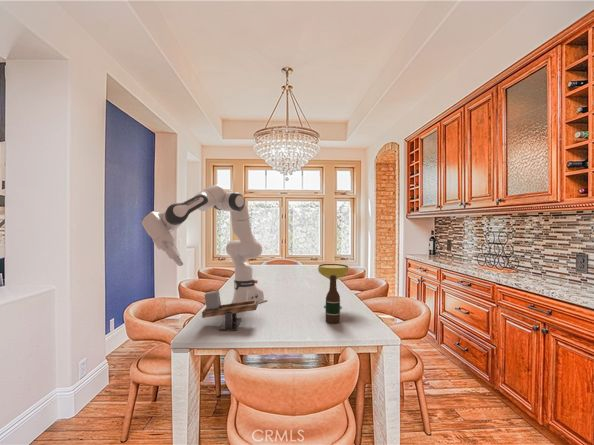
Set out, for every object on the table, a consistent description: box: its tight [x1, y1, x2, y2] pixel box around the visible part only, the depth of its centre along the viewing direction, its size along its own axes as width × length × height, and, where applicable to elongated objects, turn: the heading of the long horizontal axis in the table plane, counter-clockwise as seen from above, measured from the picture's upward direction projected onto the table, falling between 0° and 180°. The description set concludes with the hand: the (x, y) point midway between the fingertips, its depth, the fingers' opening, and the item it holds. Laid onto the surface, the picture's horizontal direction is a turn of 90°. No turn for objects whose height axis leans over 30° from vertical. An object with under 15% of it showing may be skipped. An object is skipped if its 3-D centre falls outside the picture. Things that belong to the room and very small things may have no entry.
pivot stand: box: [218, 312, 243, 332], centre depth 166 cm, size 8×17×8 cm, turn 1°
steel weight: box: [204, 290, 222, 311], centre depth 166 cm, size 6×5×9 cm
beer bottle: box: [325, 275, 341, 325], centre depth 173 cm, size 8×8×24 cm
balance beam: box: [201, 300, 259, 319], centre depth 166 cm, size 26×10×3 cm, turn 91°
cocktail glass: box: [317, 263, 349, 310], centre depth 201 cm, size 18×18×25 cm
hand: (181, 265), depth 165 cm, fingers open, 8 cm apart
